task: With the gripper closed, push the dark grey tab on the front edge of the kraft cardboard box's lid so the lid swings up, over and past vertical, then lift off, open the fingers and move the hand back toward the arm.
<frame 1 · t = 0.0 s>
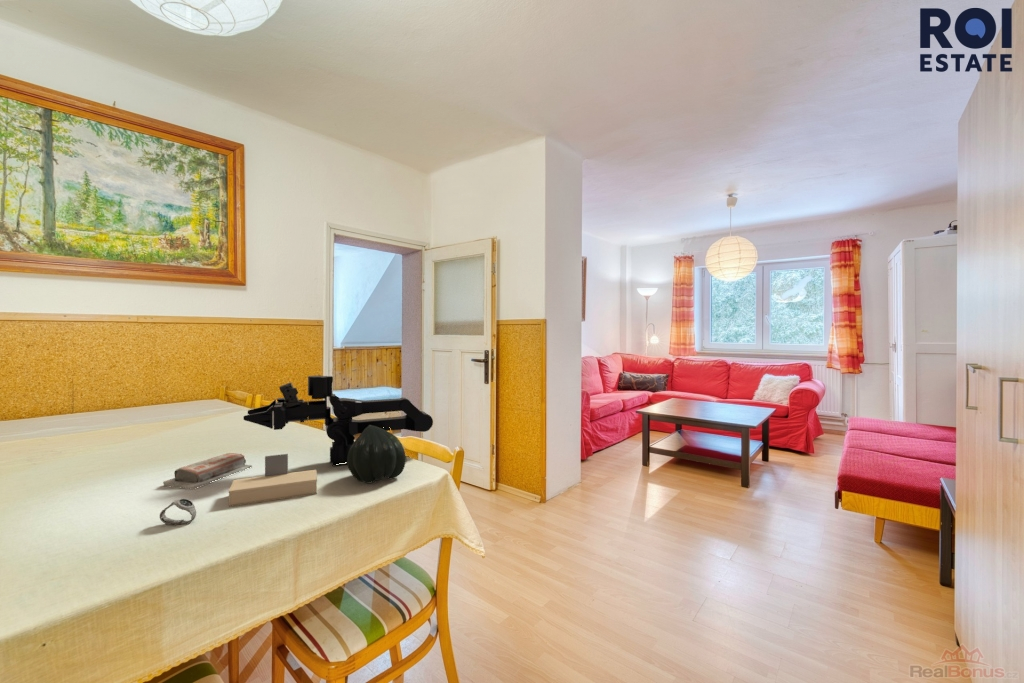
hand: (245, 415, 117), 17 cm above the table, tool horizontal, fingers open, 9 cm apart
lid: (275, 470, 103), point 6 cm above the table, hinge at 0.0°
packaged product: (210, 478, 115), on the table
cardboard box: (275, 494, 103), on the table
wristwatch: (178, 524, 87), on the table
squash: (376, 478, 115), on the table
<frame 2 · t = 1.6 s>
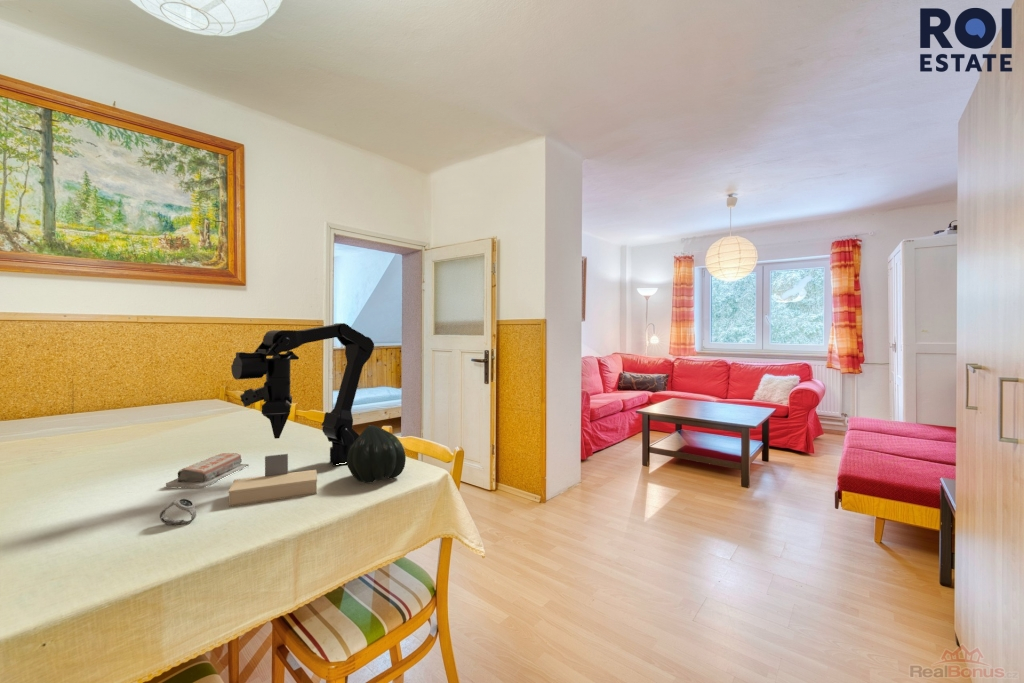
hand: (277, 435, 112), 12 cm above the table, tool pointing down, fingers open, 8 cm apart
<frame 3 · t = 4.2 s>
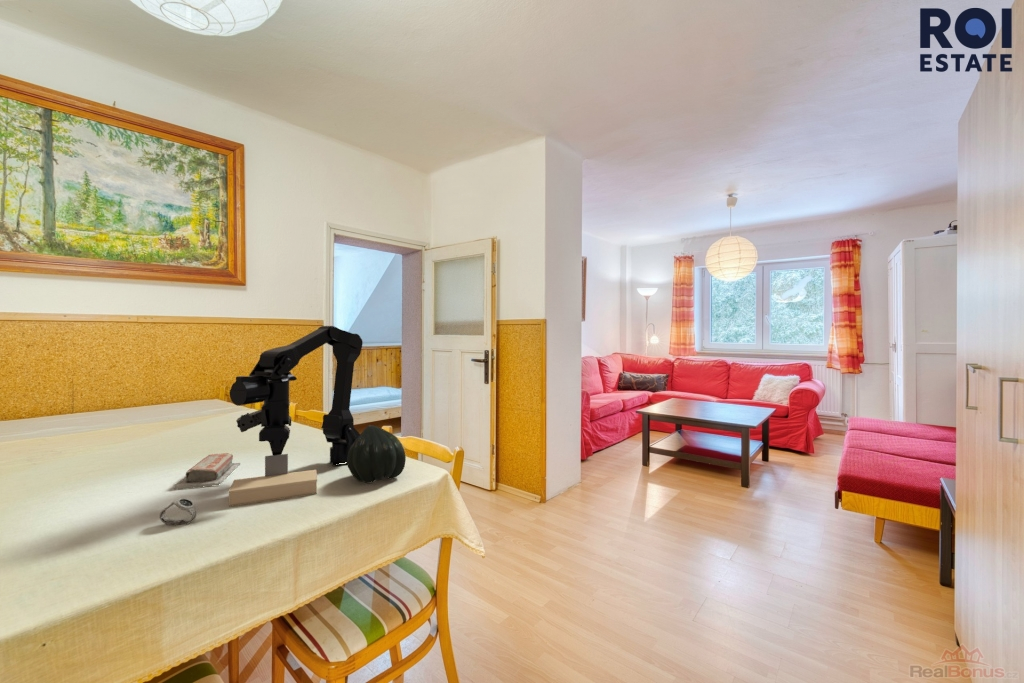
hand: (276, 460, 107), 7 cm above the table, tool pointing down, fingers closed
lid: (275, 470, 103), point 6 cm above the table, hinge at 0.0°, touching gripper
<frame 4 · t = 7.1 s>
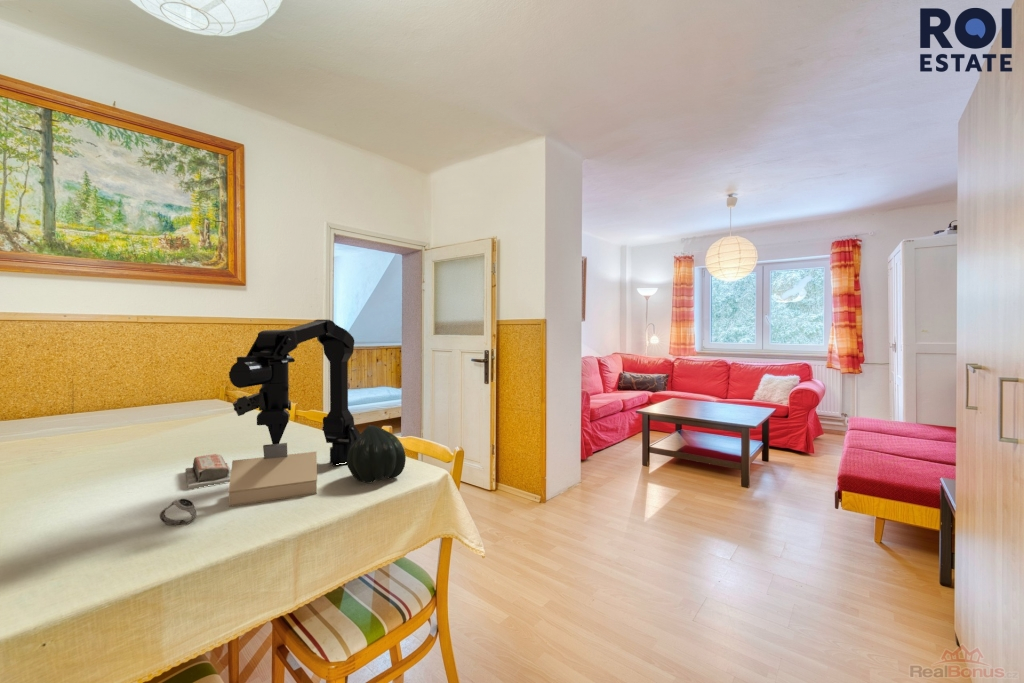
hand: (275, 446, 102), 12 cm above the table, tool pointing down, fingers closed, pressing on lid
lid: (274, 465, 100), point 8 cm above the table, hinge at 41.4°, touching gripper
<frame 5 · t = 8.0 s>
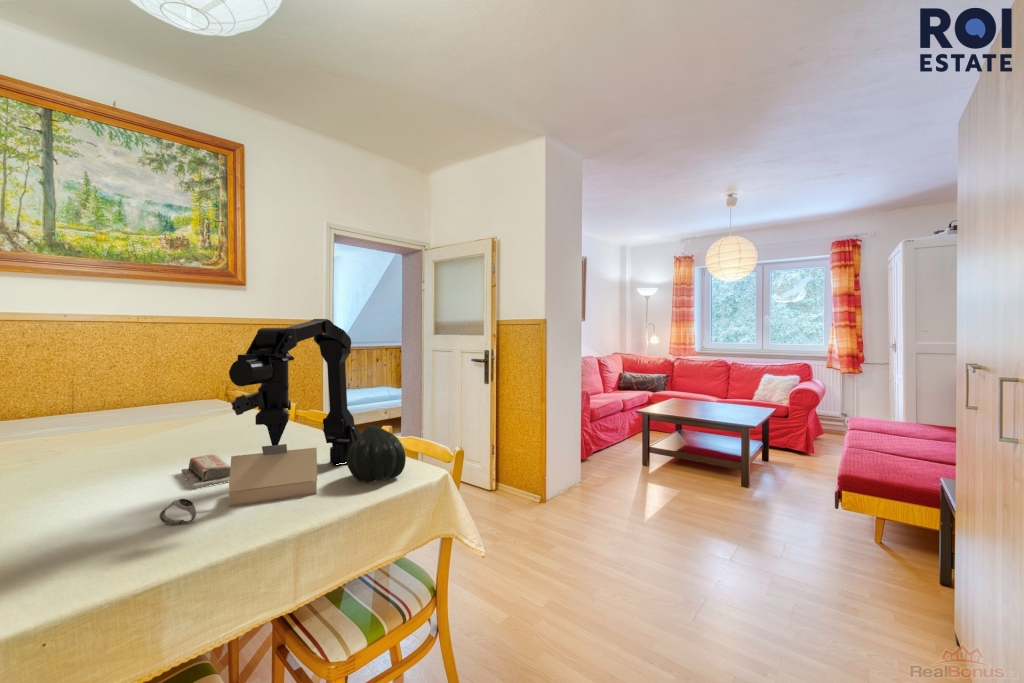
hand: (274, 446, 100), 13 cm above the table, tool pointing down, fingers closed, pressing on lid
lid: (274, 465, 99), point 8 cm above the table, hinge at 58.6°, touching gripper
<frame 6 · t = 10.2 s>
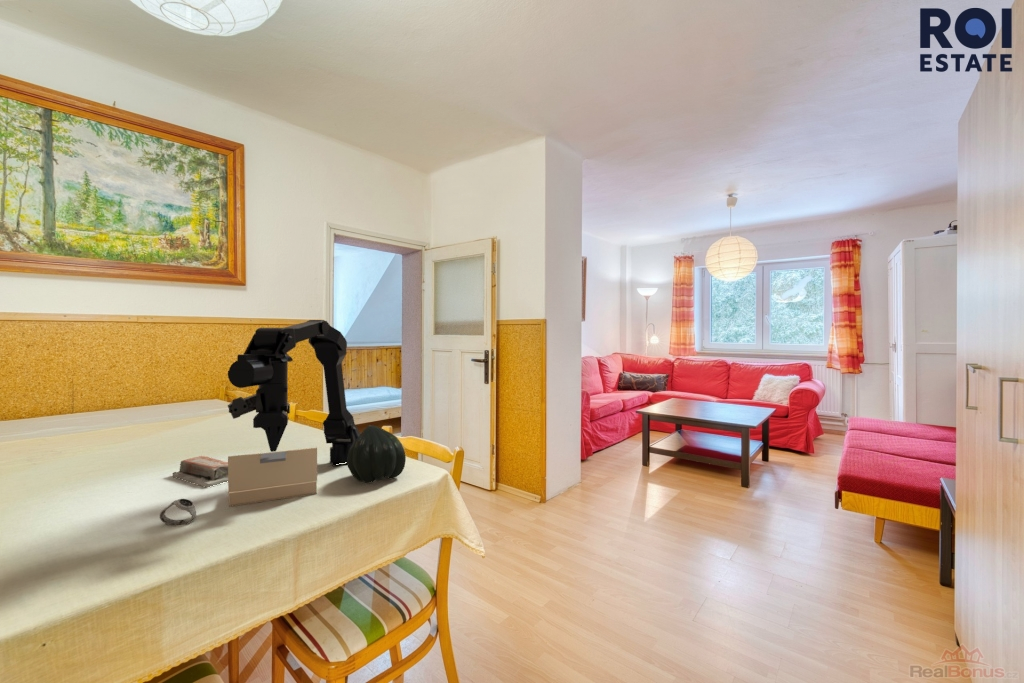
hand: (273, 451, 96), 13 cm above the table, tool pointing down, fingers closed
lid: (273, 472, 97), point 7 cm above the table, hinge at 93.5°
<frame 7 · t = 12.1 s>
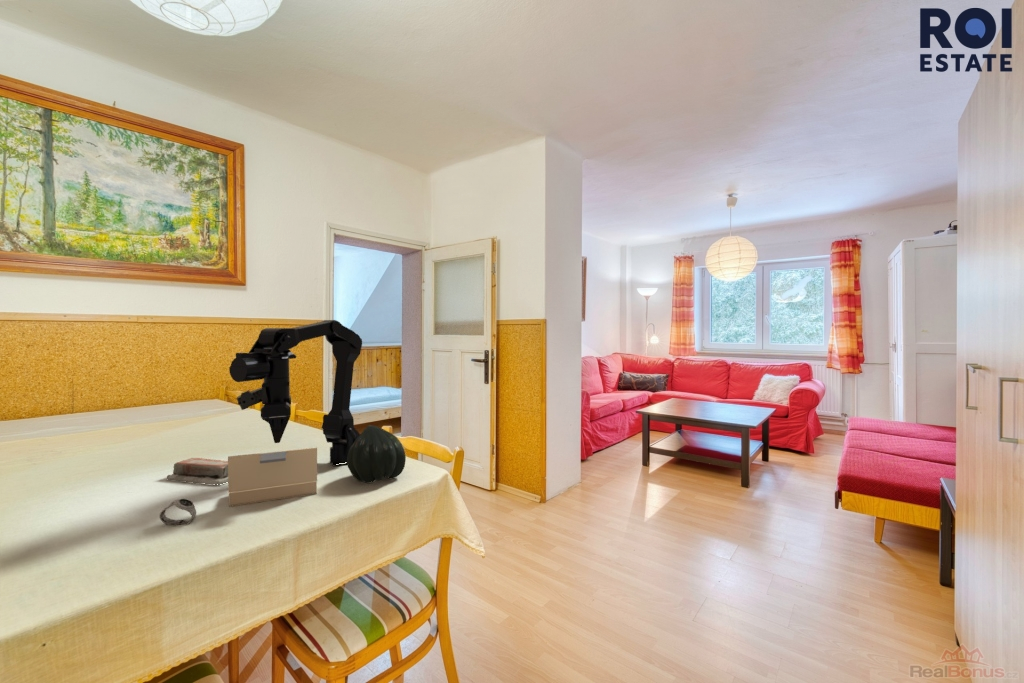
hand: (277, 438, 107), 13 cm above the table, tool pointing down, fingers open, 9 cm apart
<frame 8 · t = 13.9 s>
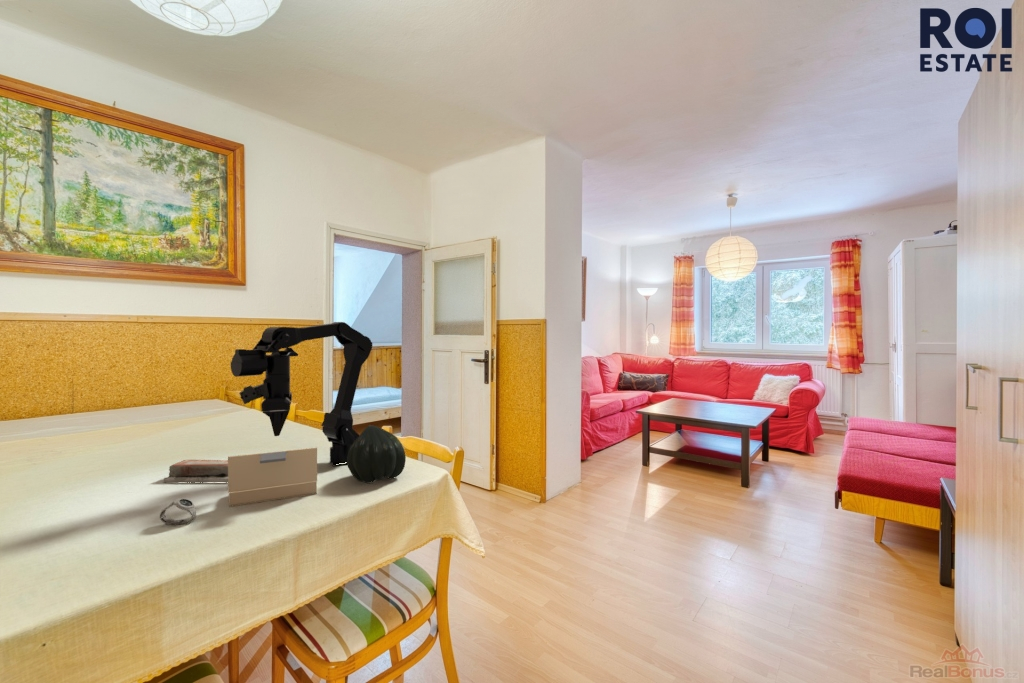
hand: (277, 432, 112), 13 cm above the table, tool pointing down, fingers open, 9 cm apart
at the end: lid at +94° (first picture: +0°); the gripper is holding nothing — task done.
